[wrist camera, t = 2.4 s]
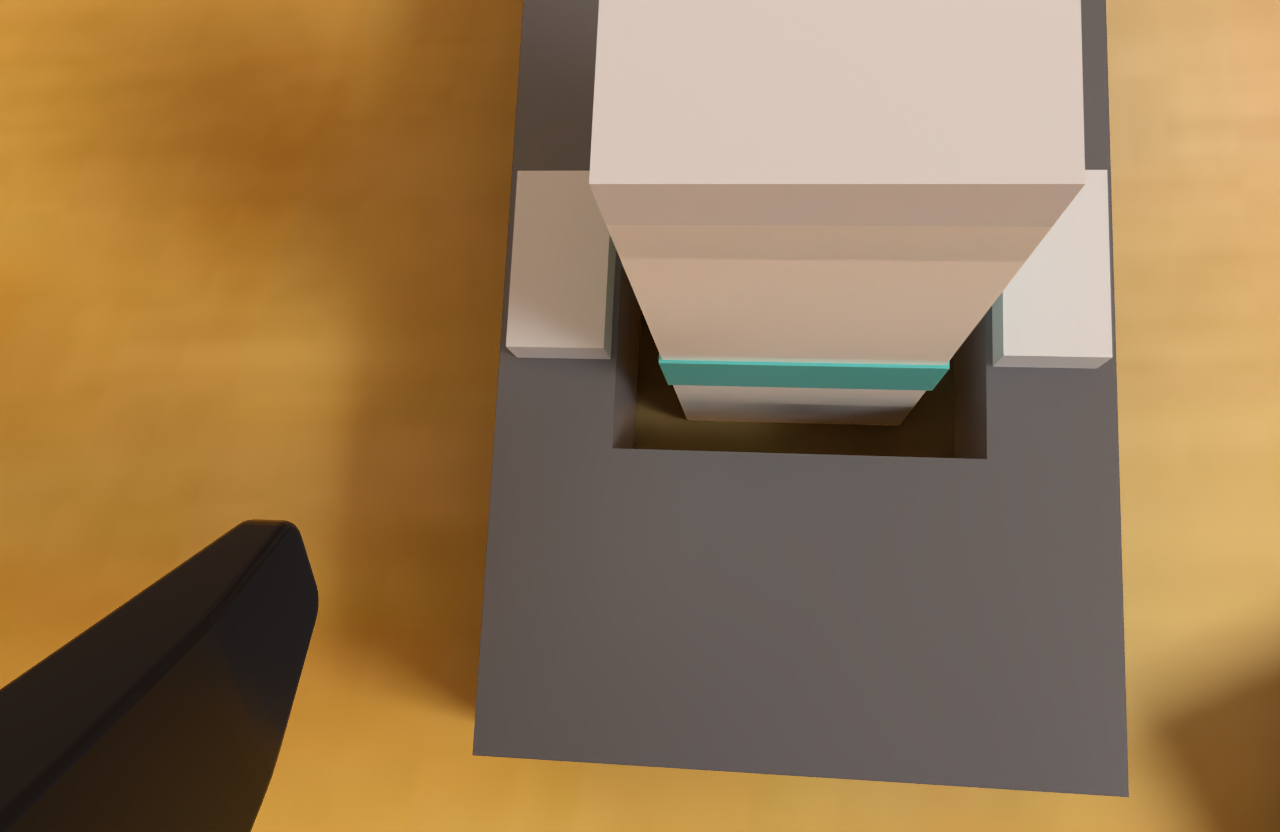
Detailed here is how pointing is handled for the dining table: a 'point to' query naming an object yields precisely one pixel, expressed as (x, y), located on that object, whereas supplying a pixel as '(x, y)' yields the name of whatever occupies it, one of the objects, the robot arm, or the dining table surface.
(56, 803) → the robot arm
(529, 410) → the block
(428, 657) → the dining table surface
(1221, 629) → the dining table surface
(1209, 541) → the dining table surface
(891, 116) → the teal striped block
